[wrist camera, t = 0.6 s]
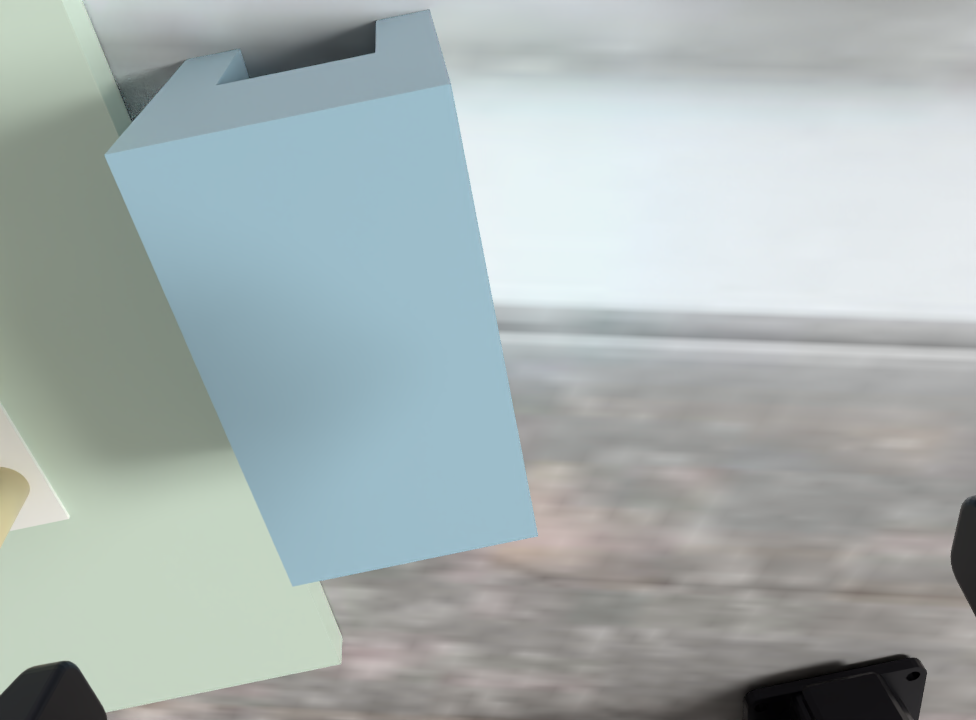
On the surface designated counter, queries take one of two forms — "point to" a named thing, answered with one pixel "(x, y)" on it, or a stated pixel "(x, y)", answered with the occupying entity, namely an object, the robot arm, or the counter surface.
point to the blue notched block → (335, 298)
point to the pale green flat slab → (114, 420)
